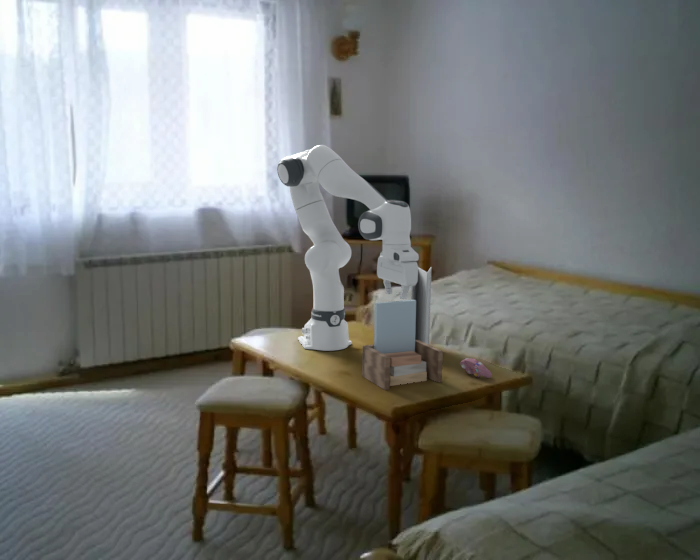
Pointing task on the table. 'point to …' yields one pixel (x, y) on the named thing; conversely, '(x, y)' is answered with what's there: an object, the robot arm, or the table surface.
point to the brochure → (422, 305)
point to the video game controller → (475, 367)
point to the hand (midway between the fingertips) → (396, 296)
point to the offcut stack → (406, 368)
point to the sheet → (395, 326)
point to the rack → (379, 364)
